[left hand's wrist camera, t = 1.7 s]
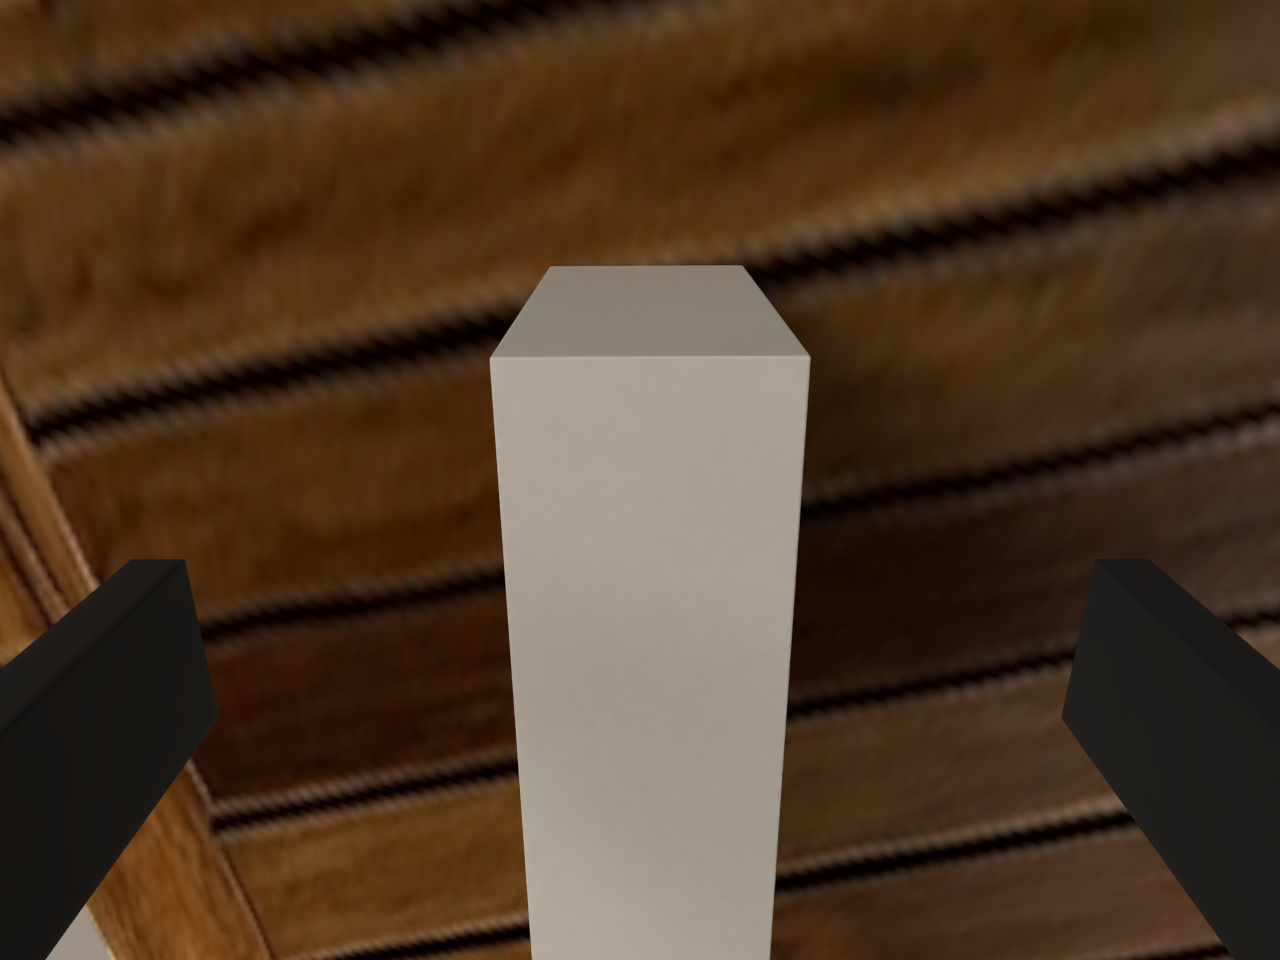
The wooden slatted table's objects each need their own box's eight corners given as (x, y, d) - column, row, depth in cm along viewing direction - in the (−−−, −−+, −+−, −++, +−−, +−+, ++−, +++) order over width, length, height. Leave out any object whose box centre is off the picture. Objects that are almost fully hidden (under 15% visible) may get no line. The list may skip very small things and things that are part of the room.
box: (549, 266, 27) (489, 357, 16) (743, 264, 27) (811, 355, 16) (573, 817, 35) (543, 1123, 24) (722, 816, 35) (759, 1123, 24)
